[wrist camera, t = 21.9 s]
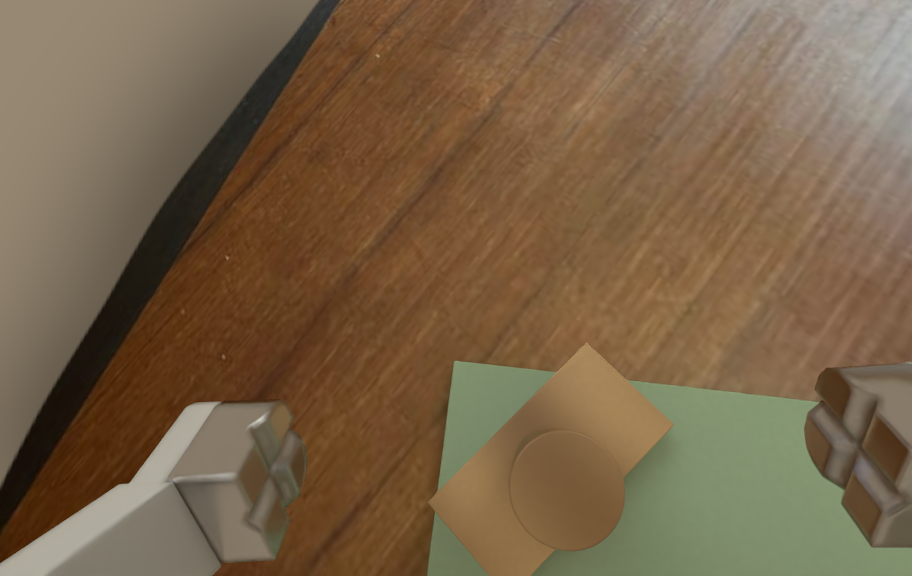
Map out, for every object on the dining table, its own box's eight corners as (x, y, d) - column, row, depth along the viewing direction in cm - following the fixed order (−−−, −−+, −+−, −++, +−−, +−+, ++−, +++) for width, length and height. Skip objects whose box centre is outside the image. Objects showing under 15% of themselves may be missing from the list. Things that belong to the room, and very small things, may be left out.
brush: (510, 578, 24) (497, 722, 12) (438, 493, 25) (364, 551, 14) (657, 424, 25) (774, 423, 13) (579, 351, 26) (623, 291, 14)
